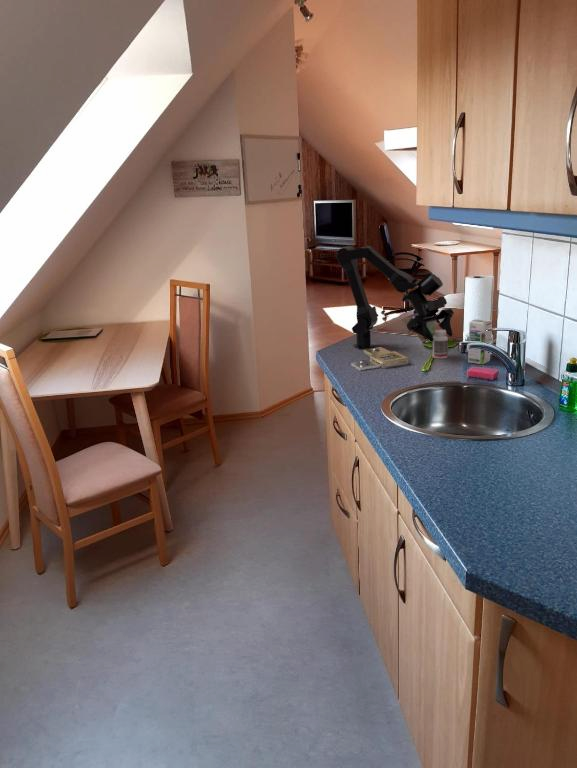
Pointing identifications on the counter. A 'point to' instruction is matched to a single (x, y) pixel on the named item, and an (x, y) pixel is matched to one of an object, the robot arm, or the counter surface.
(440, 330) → the pill bottle
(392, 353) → the beige flat piece
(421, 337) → the food container
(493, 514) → the counter surface
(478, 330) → the syrup box
